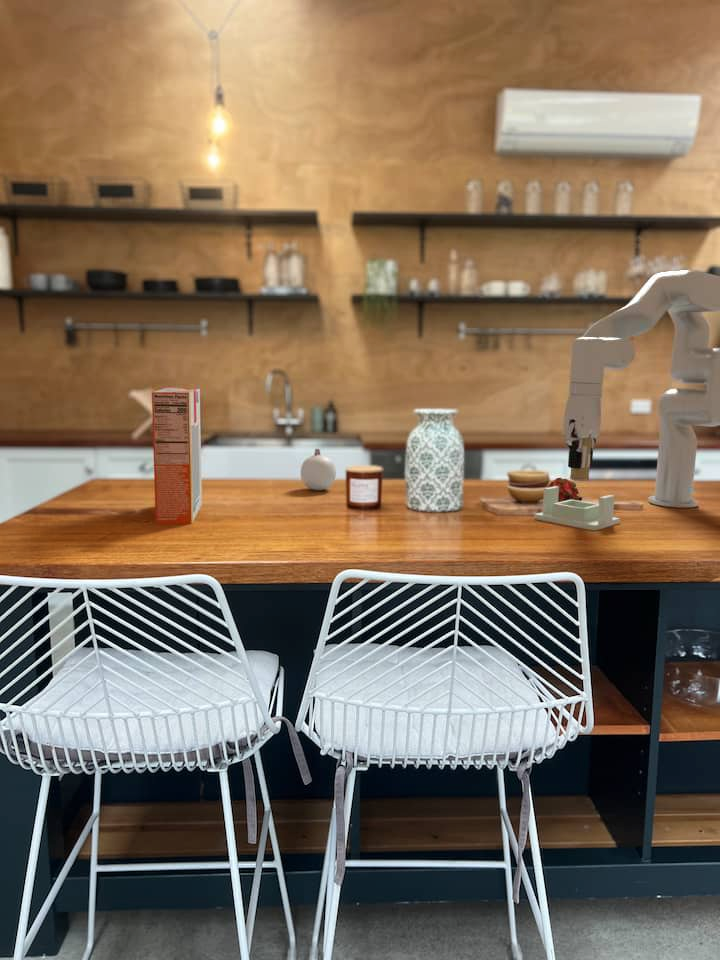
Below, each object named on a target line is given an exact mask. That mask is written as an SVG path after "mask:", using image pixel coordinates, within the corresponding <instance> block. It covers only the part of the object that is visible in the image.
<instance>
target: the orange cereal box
mask: <svg viewBox="0 0 720 960" xmlns="http://www.w3.org/2000/svg"><path fill="white" fill-rule="evenodd" d="M151 407H152V408H151V409H152V410H151V412H152V414H151V415H152V442H153V443H152V449H153V475H154V476H153V478H154V480H153V482H154V509H155V511H154V513H155V514H154V515H155V516H154V517H155V525H192V523H193V522H194V520H195V519H196V516H197V514H198V512H199V510H200V508H201V507H202V505H203V494H202V492H203V489H202V444H201V443H202V440H201V439H202V438H201V432H202V431H201V391H200V388H199V387H195V388H194V387H190V388H189V387H166V388H162V389H159V390H155V391H153V392H151Z"/></svg>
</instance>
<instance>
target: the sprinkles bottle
mask: <svg viewBox="0 0 720 960" xmlns="http://www.w3.org/2000/svg"><path fill="white" fill-rule="evenodd" d="M589 433H592V429H591V430H590V432H589ZM589 435H591V434H589ZM574 438H578V437H577V436H575V435H574ZM576 443H578V441H576ZM580 452H582V463H581V468H580V469H577V468H570V477H569V479H570V481H576V482H588V481H589V480H590V468H591V467H590V453H591V436H589V437H588V438H586V439H583V441H582V446H581V451H580Z"/></svg>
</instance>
